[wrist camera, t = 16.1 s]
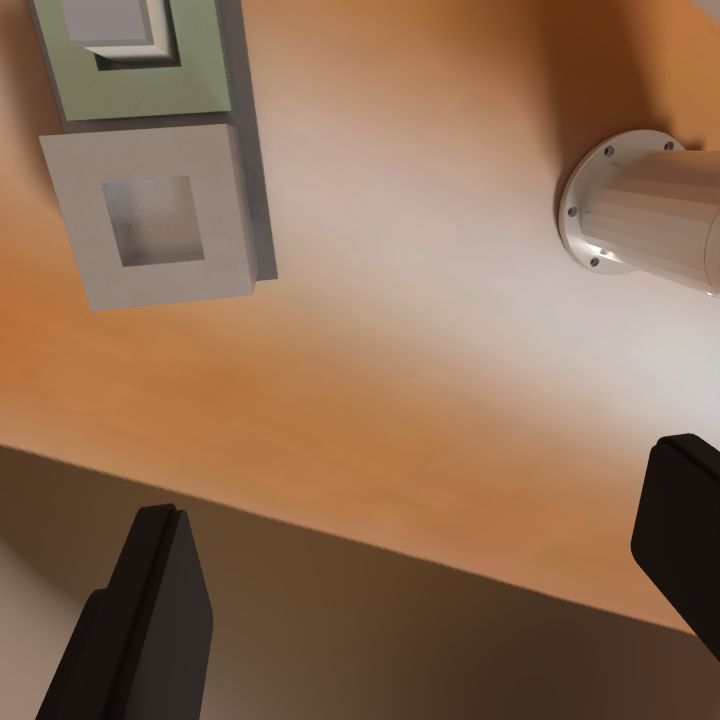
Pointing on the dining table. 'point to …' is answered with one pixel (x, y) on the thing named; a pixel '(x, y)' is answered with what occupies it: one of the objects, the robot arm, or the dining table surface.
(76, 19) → the plug
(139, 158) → the peg insertion board
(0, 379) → the dining table surface
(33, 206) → the dining table surface
